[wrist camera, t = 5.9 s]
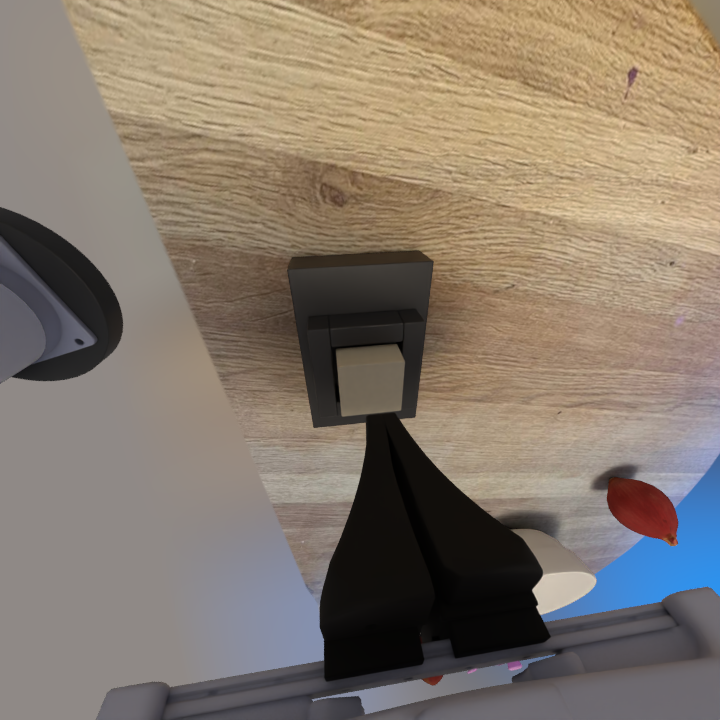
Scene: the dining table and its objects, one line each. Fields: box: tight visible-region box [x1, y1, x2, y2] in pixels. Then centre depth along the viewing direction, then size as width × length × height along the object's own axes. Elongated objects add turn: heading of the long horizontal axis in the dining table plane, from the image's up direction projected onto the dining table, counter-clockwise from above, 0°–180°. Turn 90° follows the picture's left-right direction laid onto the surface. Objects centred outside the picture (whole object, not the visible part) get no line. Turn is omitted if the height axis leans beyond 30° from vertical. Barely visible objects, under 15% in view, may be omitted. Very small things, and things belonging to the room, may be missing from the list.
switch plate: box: [287, 251, 433, 428], centre depth 19 cm, size 12×8×4 cm, turn 1°
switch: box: [336, 344, 405, 416], centre depth 16 cm, size 4×4×2 cm
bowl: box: [510, 529, 597, 615], centre depth 40 cm, size 18×18×7 cm
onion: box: [607, 477, 678, 546], centre depth 33 cm, size 6×6×8 cm
